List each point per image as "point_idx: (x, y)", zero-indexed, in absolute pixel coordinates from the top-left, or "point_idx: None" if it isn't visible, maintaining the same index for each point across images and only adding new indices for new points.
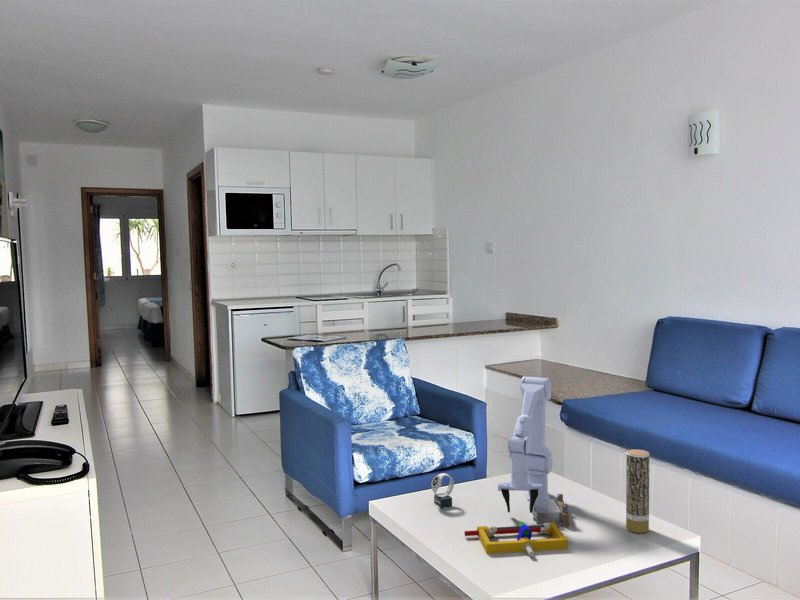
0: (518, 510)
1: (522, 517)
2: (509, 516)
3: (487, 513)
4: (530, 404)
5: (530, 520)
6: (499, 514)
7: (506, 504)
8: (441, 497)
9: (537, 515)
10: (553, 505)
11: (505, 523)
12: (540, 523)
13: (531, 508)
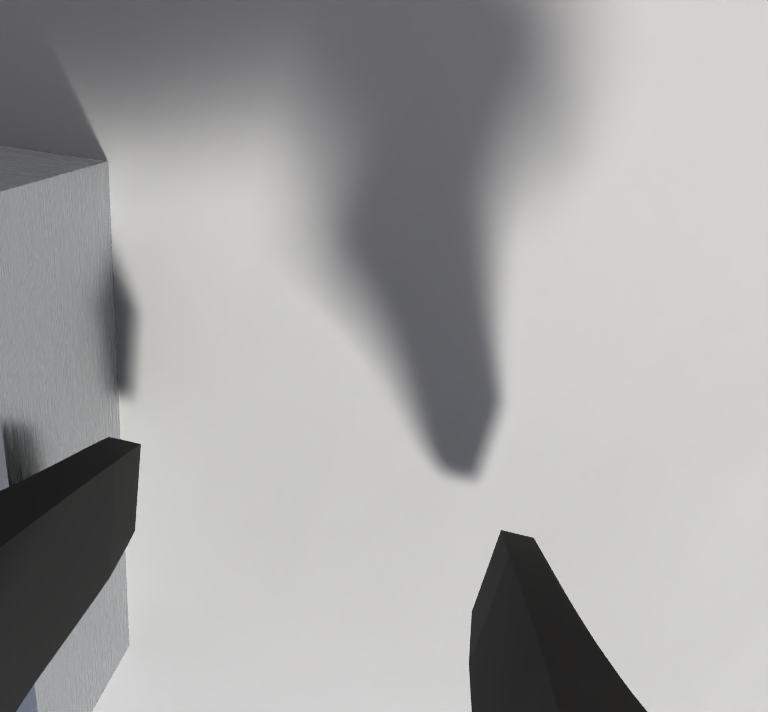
0: (286, 663)
1: (292, 453)
2: (479, 525)
3: (761, 678)
4: None
5: (192, 322)
6: (601, 614)
7: (604, 658)
8: None
9: (2, 189)
10: None
11: (663, 286)
12: (42, 151)
13: (72, 471)
